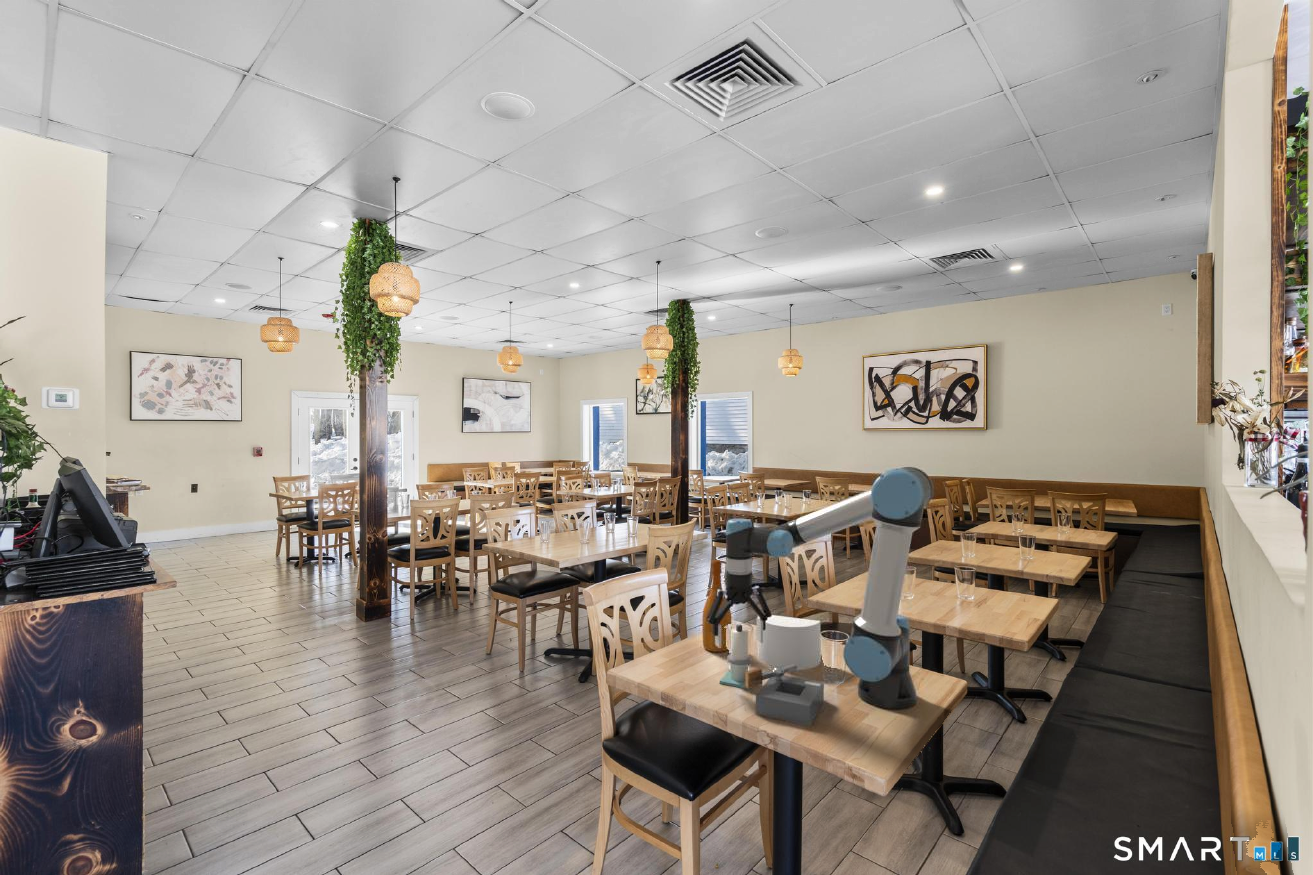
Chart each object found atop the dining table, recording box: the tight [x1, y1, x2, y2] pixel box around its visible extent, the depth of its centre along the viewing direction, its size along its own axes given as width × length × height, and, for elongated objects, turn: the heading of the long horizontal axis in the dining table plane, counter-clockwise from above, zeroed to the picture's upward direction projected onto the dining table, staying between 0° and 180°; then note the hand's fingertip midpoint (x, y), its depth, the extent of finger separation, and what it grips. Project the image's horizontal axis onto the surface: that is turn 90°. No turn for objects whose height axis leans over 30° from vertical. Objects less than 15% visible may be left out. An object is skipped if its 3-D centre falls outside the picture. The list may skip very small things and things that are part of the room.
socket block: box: [755, 674, 825, 727], centre depth 162 cm, size 14×16×6 cm
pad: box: [719, 669, 751, 690], centre depth 179 cm, size 9×9×1 cm
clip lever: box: [745, 664, 798, 689], centre depth 166 cm, size 18×3×4 cm, turn 123°
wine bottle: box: [701, 559, 732, 653], centre depth 206 cm, size 10×10×30 cm
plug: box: [726, 624, 752, 682], centre depth 179 cm, size 7×7×16 cm
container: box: [757, 614, 822, 671], centre depth 197 cm, size 20×20×13 cm
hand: (739, 643), depth 179 cm, fingers open, 13 cm apart
